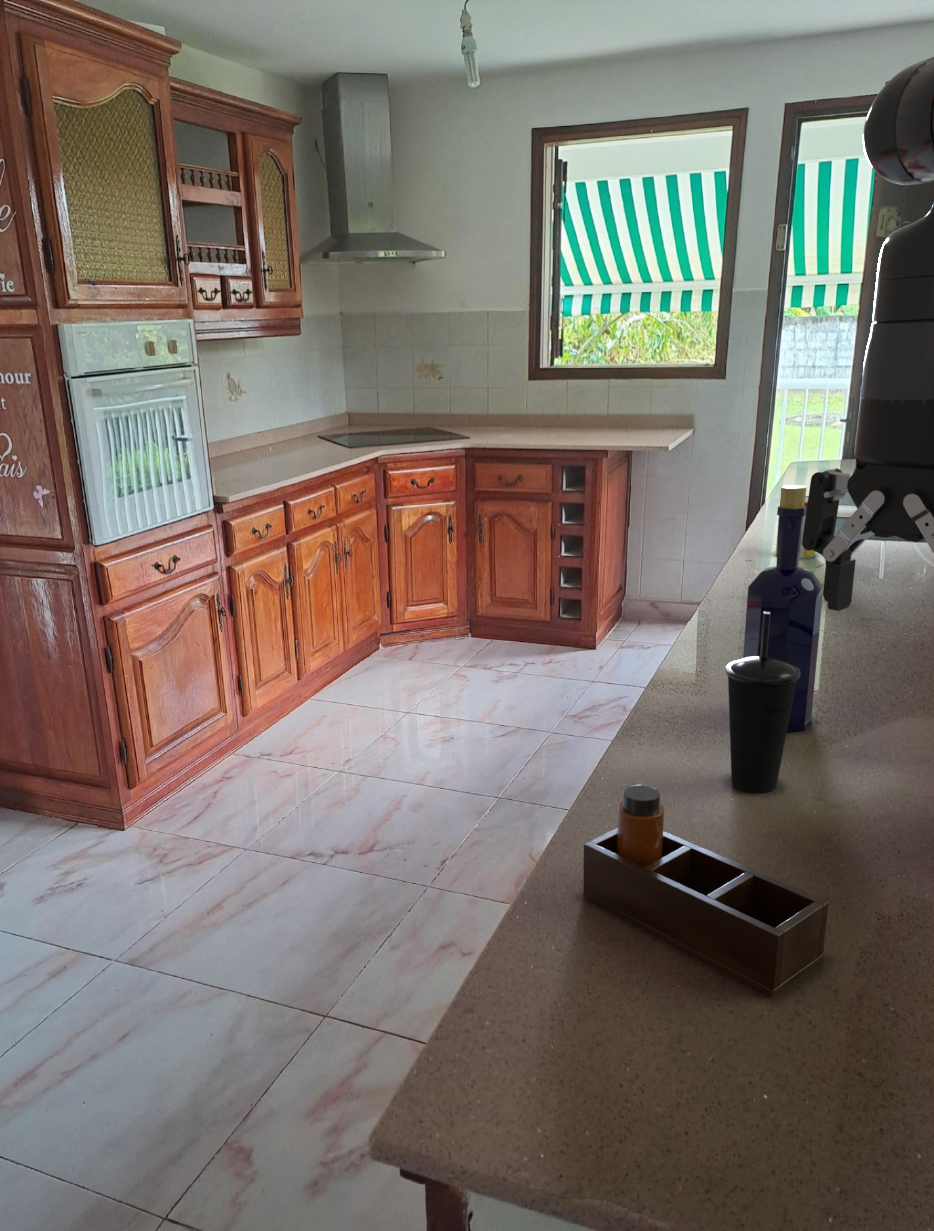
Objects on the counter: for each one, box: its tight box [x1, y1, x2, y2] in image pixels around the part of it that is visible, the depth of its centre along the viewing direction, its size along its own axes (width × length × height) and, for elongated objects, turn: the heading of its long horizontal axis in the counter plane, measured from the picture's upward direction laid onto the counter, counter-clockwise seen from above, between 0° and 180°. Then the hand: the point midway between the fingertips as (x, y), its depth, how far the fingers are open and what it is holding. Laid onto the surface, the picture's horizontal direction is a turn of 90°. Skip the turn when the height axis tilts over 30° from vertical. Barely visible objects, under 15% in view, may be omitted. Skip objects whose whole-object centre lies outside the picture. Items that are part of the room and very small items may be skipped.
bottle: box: [742, 484, 824, 734], centre depth 124 cm, size 9×9×30 cm
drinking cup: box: [724, 612, 800, 794], centre depth 108 cm, size 8×8×20 cm
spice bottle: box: [616, 784, 665, 867], centre depth 89 cm, size 4×4×10 cm
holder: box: [582, 827, 830, 998], centre depth 85 cm, size 7×20×6 cm, turn 38°
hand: (892, 618), depth 74 cm, fingers open, 8 cm apart
